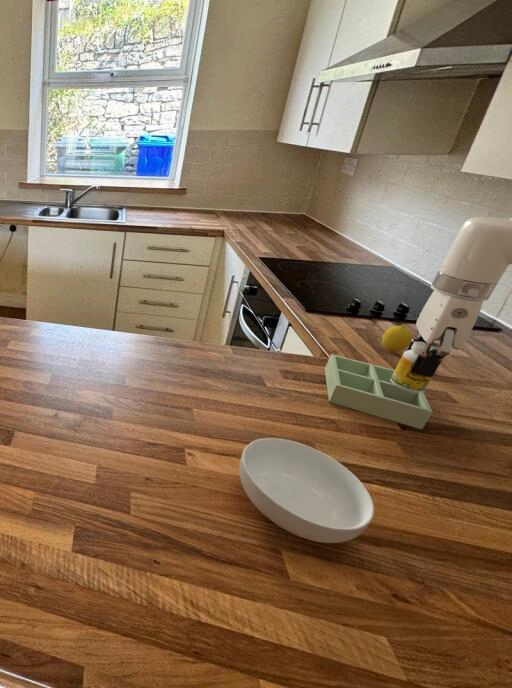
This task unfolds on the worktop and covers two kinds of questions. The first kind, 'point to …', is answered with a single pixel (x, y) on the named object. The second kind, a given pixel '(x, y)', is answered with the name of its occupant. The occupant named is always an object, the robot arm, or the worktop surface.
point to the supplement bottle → (403, 374)
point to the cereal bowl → (305, 490)
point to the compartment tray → (374, 392)
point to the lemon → (397, 338)
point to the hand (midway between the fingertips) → (417, 366)
